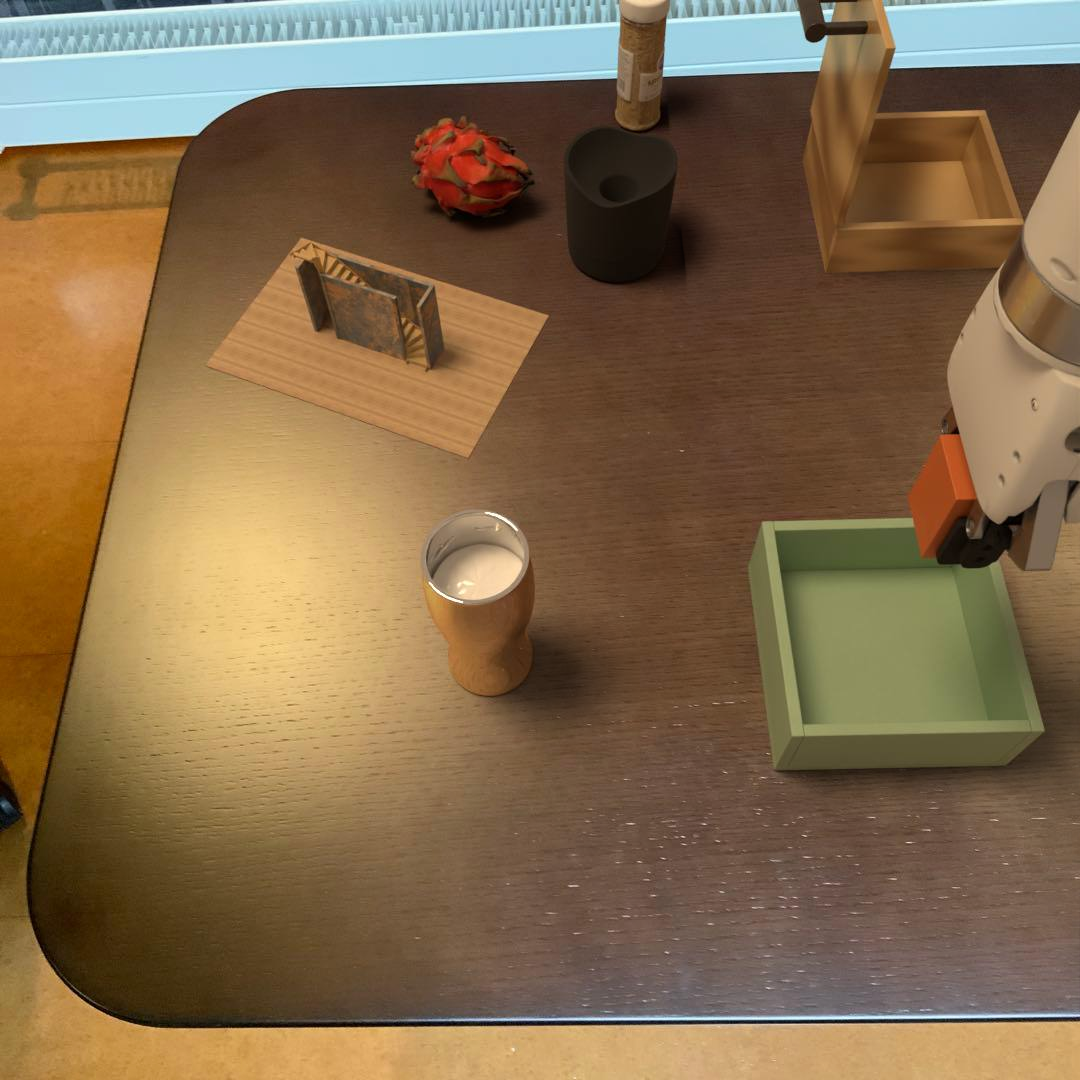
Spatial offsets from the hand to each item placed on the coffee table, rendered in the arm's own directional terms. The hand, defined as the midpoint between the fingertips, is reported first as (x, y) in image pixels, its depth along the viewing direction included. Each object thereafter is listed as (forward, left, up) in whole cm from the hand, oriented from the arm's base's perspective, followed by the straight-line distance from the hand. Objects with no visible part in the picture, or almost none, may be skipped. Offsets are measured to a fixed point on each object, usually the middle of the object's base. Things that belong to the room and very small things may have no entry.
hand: (955, 520), depth 58 cm
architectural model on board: (+37, -31, -20) cm, 52 cm away
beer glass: (+27, -1, -20) cm, 33 cm away
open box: (0, 0, -20) cm, 20 cm away
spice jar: (+13, -59, -20) cm, 64 cm away
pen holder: (+16, -41, -20) cm, 48 cm away
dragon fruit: (+29, -48, -20) cm, 59 cm away
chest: (-10, -44, -20) cm, 49 cm away
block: (0, 0, -1) cm, 1 cm away
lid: (-3, -44, -5) cm, 44 cm away
